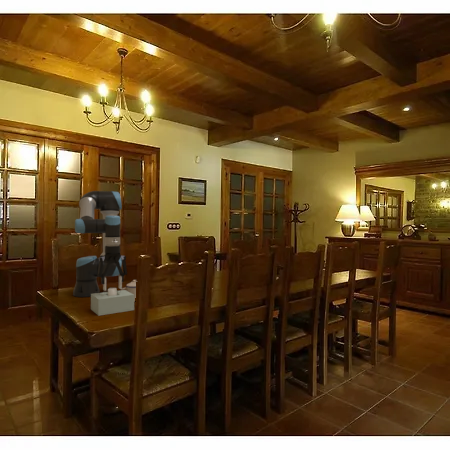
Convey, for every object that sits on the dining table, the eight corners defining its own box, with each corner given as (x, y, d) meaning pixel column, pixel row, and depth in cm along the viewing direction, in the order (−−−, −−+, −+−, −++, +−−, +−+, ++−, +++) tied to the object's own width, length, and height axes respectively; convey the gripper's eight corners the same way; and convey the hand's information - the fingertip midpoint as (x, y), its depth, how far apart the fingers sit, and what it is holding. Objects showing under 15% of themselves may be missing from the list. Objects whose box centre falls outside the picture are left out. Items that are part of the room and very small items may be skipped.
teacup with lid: (143, 298, 202) (143, 278, 202) (140, 302, 193) (140, 281, 193) (122, 298, 201) (123, 278, 201) (119, 302, 192) (119, 281, 192)
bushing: (106, 309, 177) (106, 288, 177) (115, 308, 180) (115, 287, 179) (109, 311, 173) (109, 289, 173) (117, 310, 176) (117, 288, 176)
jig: (90, 309, 177) (90, 293, 177) (124, 304, 187) (124, 289, 187) (98, 315, 166) (98, 299, 165) (134, 310, 176) (134, 294, 176)
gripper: (94, 246, 167) (94, 293, 167) (134, 245, 179) (134, 288, 179) (90, 245, 173) (90, 290, 173) (129, 244, 185) (129, 285, 185)
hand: (112, 289), depth 176 cm, fingers open, 7 cm apart
